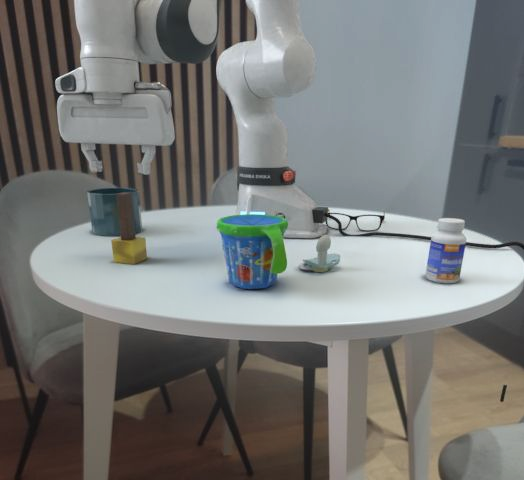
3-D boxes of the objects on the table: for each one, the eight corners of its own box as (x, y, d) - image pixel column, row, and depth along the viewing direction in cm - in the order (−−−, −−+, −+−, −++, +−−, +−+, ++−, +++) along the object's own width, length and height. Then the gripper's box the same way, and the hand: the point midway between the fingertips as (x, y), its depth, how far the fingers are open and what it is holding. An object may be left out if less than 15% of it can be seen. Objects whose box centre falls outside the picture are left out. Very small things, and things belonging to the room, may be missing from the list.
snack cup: (204, 274, 84) (202, 213, 80) (260, 267, 88) (261, 209, 84) (242, 303, 71) (241, 231, 67) (305, 293, 75) (308, 225, 71)
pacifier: (290, 269, 88) (315, 276, 83) (291, 234, 85) (316, 239, 81) (319, 263, 92) (344, 268, 88) (320, 228, 90) (346, 233, 85)
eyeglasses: (322, 229, 119) (323, 212, 117) (328, 219, 132) (329, 203, 130) (382, 233, 116) (384, 215, 114) (383, 221, 129) (385, 206, 127)
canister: (151, 228, 119) (147, 189, 115) (125, 237, 109) (120, 195, 106) (110, 224, 122) (106, 186, 118) (82, 233, 112) (76, 192, 109)
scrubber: (147, 258, 93) (141, 192, 88) (134, 264, 89) (127, 195, 84) (126, 256, 95) (119, 191, 89) (113, 262, 91) (105, 194, 86)
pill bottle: (440, 285, 80) (450, 224, 75) (418, 276, 84) (426, 218, 80) (466, 281, 82) (477, 221, 77) (443, 273, 86) (452, 216, 82)
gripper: (179, 83, 79) (183, 174, 85) (71, 83, 85) (81, 169, 91) (159, 80, 74) (165, 177, 80) (46, 80, 80) (59, 171, 85)
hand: (120, 173), depth 85 cm, fingers open, 8 cm apart
